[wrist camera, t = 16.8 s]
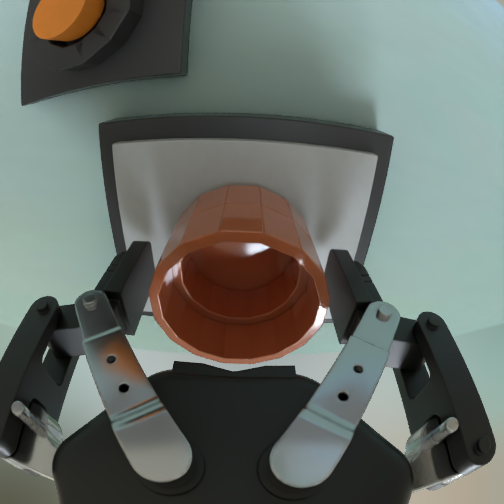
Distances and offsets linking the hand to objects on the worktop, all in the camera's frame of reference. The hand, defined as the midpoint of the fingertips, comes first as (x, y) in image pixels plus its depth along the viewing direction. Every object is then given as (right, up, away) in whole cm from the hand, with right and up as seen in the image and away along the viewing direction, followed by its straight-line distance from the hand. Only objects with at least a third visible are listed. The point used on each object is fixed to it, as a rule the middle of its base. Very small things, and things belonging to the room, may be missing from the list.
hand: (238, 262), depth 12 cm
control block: (-7, +13, -3) cm, 15 cm away
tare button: (-7, +11, -6) cm, 14 cm away
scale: (0, +2, +3) cm, 4 cm away
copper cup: (0, +1, +1) cm, 2 cm away
